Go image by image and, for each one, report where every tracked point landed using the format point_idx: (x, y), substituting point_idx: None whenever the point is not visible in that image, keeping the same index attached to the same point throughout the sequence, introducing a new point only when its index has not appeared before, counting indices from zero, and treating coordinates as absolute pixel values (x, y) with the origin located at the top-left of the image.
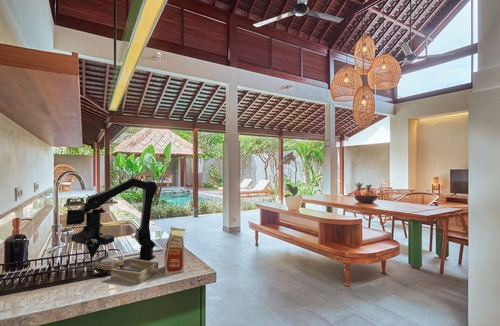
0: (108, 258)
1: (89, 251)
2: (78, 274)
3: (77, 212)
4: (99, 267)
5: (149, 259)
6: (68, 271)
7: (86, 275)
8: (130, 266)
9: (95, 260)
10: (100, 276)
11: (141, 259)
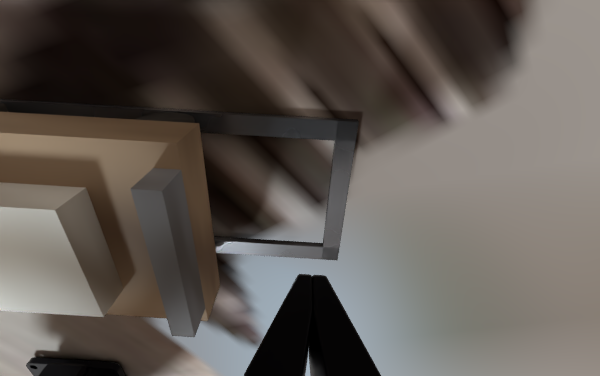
0: (42, 280)
1: (345, 356)
2: (324, 14)
3: None
4: (72, 120)
5: (30, 371)
6: (506, 60)
7: (209, 16)
8: None
9: (133, 187)
10: (40, 39)
11: (71, 364)
